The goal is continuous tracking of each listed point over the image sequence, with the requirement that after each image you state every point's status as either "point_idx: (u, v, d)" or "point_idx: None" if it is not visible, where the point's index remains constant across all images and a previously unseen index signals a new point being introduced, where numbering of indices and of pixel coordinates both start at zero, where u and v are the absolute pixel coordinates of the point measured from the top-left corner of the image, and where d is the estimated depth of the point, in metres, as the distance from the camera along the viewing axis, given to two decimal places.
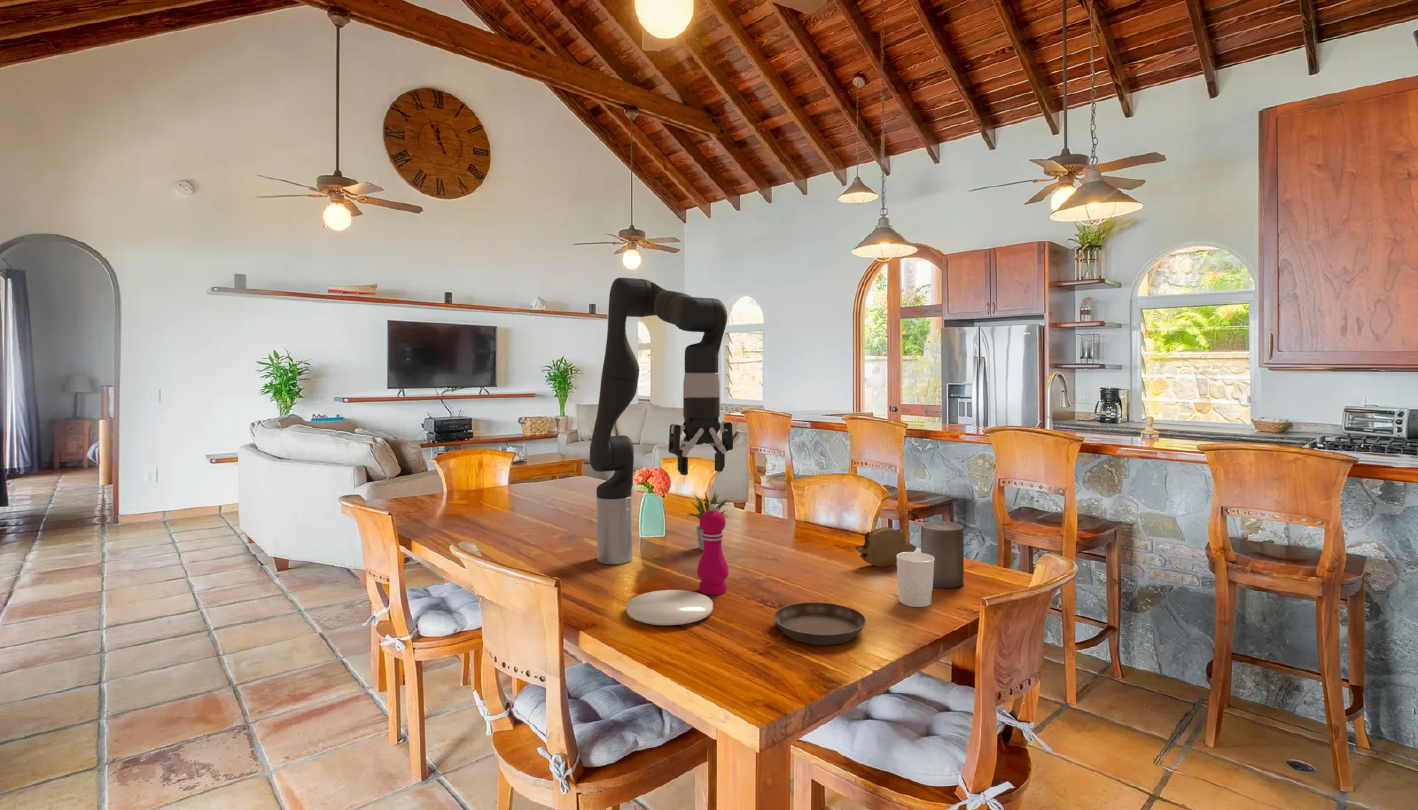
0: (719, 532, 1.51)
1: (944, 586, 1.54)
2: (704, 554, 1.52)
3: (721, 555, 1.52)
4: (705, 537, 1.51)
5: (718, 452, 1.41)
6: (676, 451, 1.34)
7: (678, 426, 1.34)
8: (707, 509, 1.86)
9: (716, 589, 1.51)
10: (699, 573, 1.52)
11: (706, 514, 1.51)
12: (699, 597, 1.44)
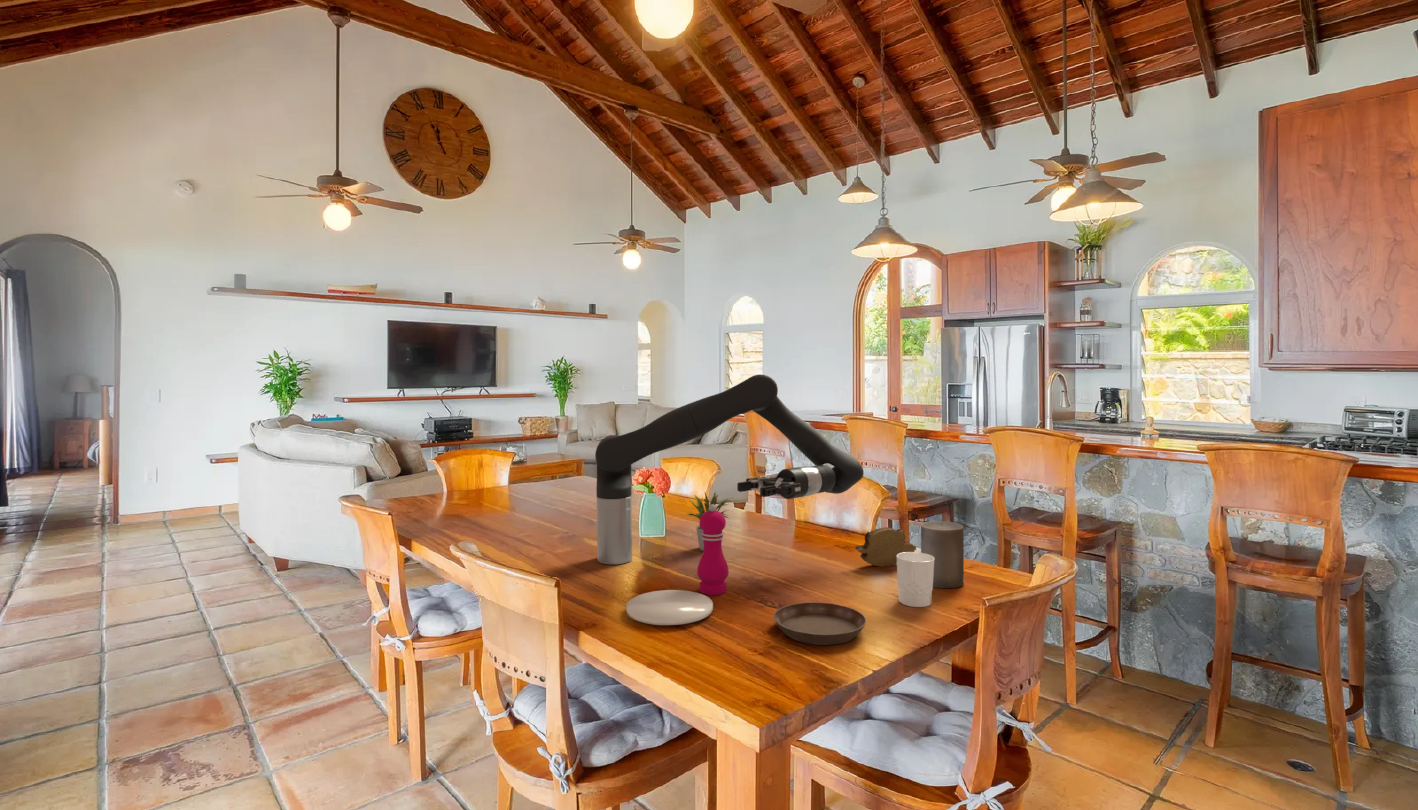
0: (719, 532, 1.51)
1: (944, 586, 1.54)
2: (704, 554, 1.52)
3: (721, 555, 1.52)
4: (705, 537, 1.51)
5: (751, 486, 1.64)
6: (784, 496, 1.56)
7: None
8: (707, 509, 1.86)
9: (716, 589, 1.51)
10: (699, 573, 1.52)
11: (706, 514, 1.51)
12: (699, 597, 1.44)
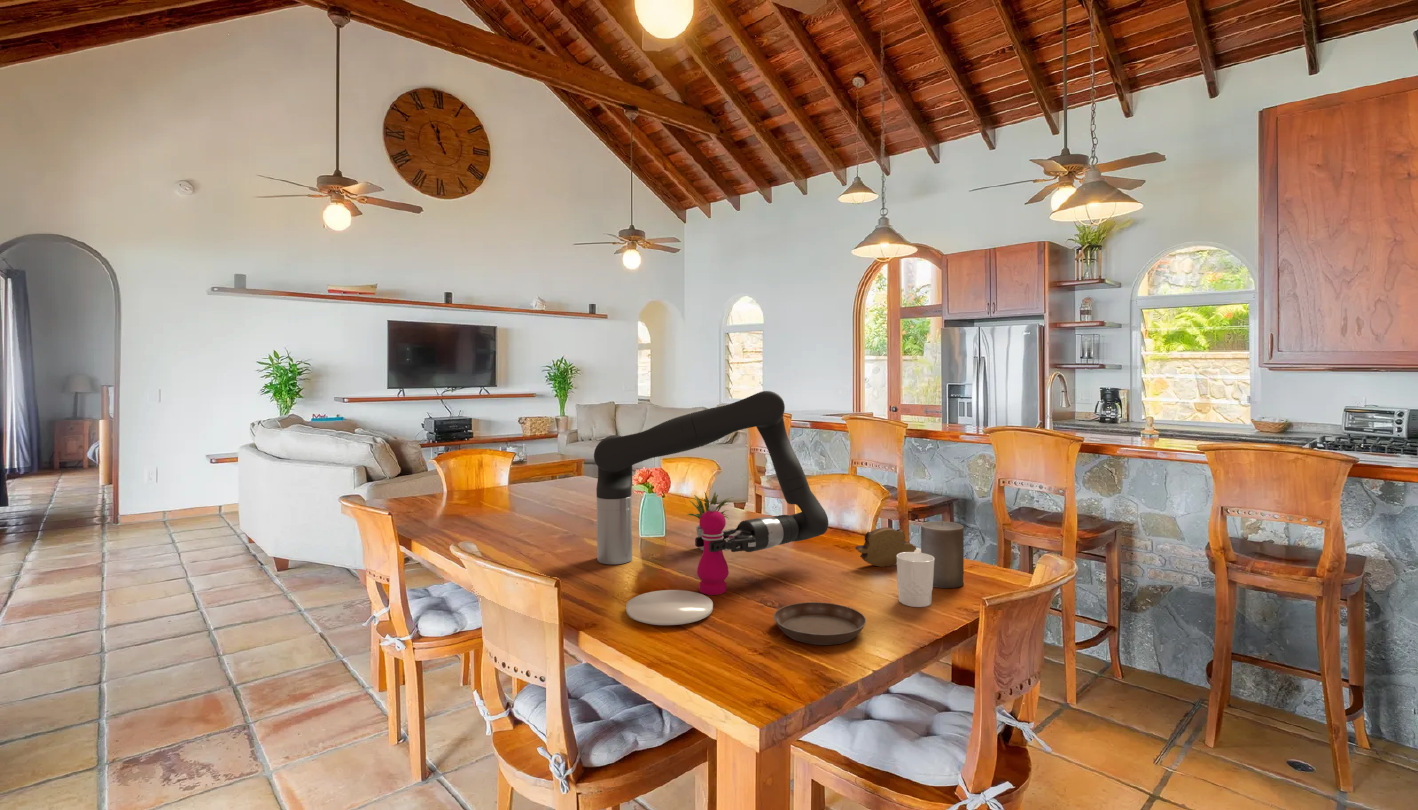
0: (719, 532, 1.51)
1: (944, 586, 1.54)
2: (704, 554, 1.52)
3: (721, 555, 1.52)
4: (705, 537, 1.51)
5: None
6: (734, 551, 1.50)
7: None
8: (707, 509, 1.86)
9: (716, 589, 1.51)
10: (699, 573, 1.52)
11: (706, 514, 1.51)
12: (699, 597, 1.44)
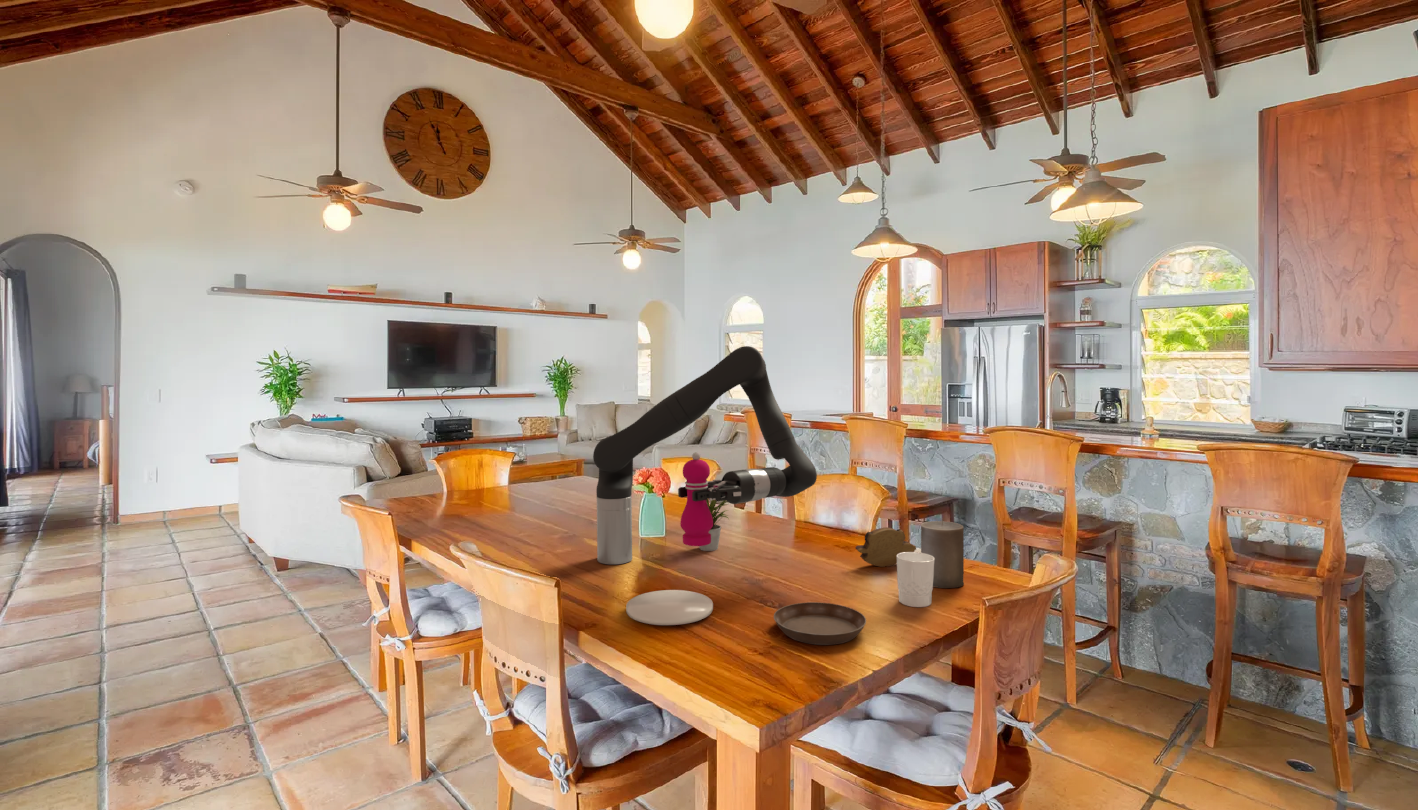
0: (703, 481, 1.45)
1: (944, 586, 1.54)
2: (687, 504, 1.46)
3: (705, 505, 1.46)
4: (688, 486, 1.45)
5: None
6: (718, 501, 1.44)
7: None
8: None
9: (700, 540, 1.44)
10: (682, 524, 1.45)
11: (689, 462, 1.45)
12: (699, 597, 1.44)
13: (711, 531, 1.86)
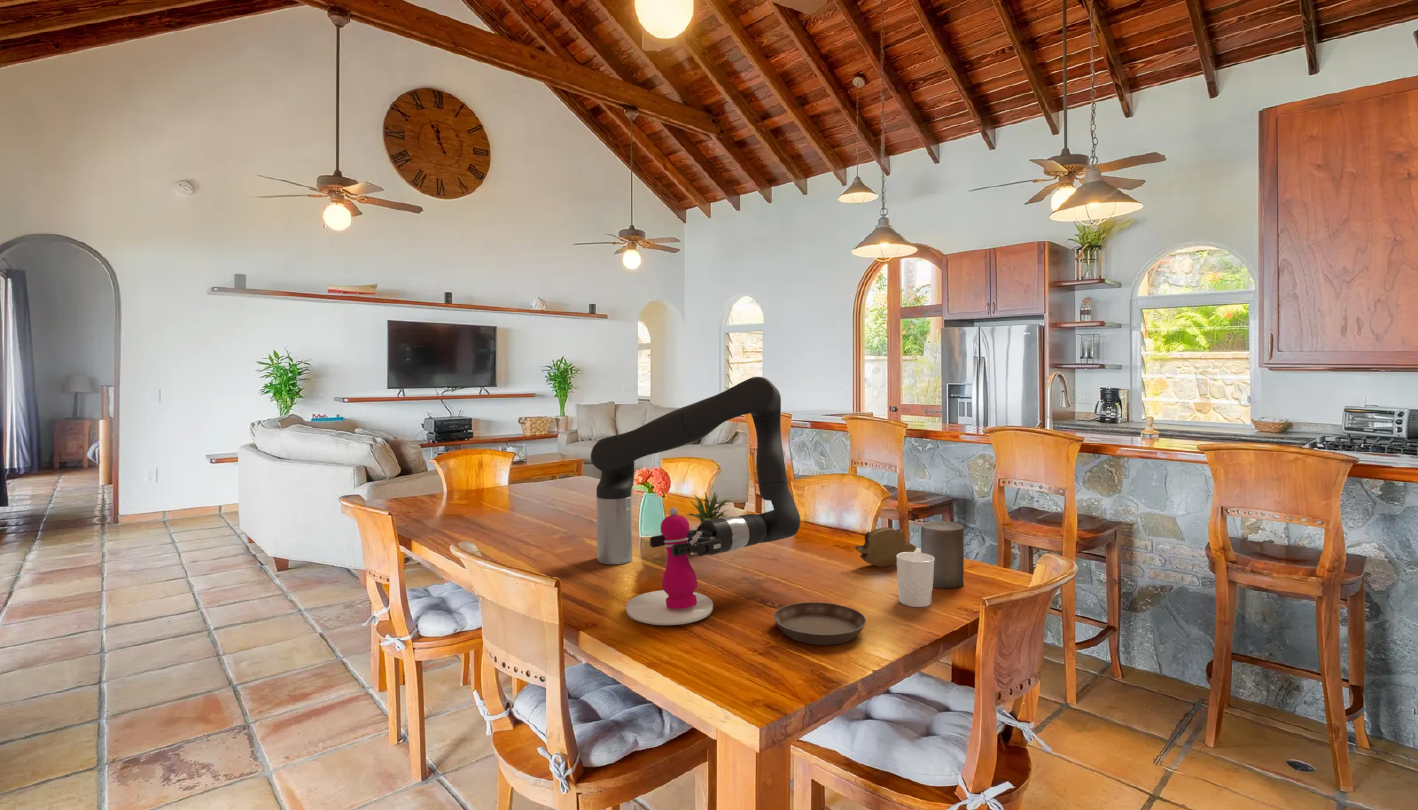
0: (682, 537, 1.37)
1: (944, 586, 1.54)
2: (668, 563, 1.37)
3: (687, 563, 1.37)
4: (667, 544, 1.37)
5: None
6: (700, 555, 1.36)
7: None
8: (707, 509, 1.86)
9: (684, 601, 1.34)
10: (664, 585, 1.36)
11: (667, 518, 1.38)
12: (699, 597, 1.44)
13: None
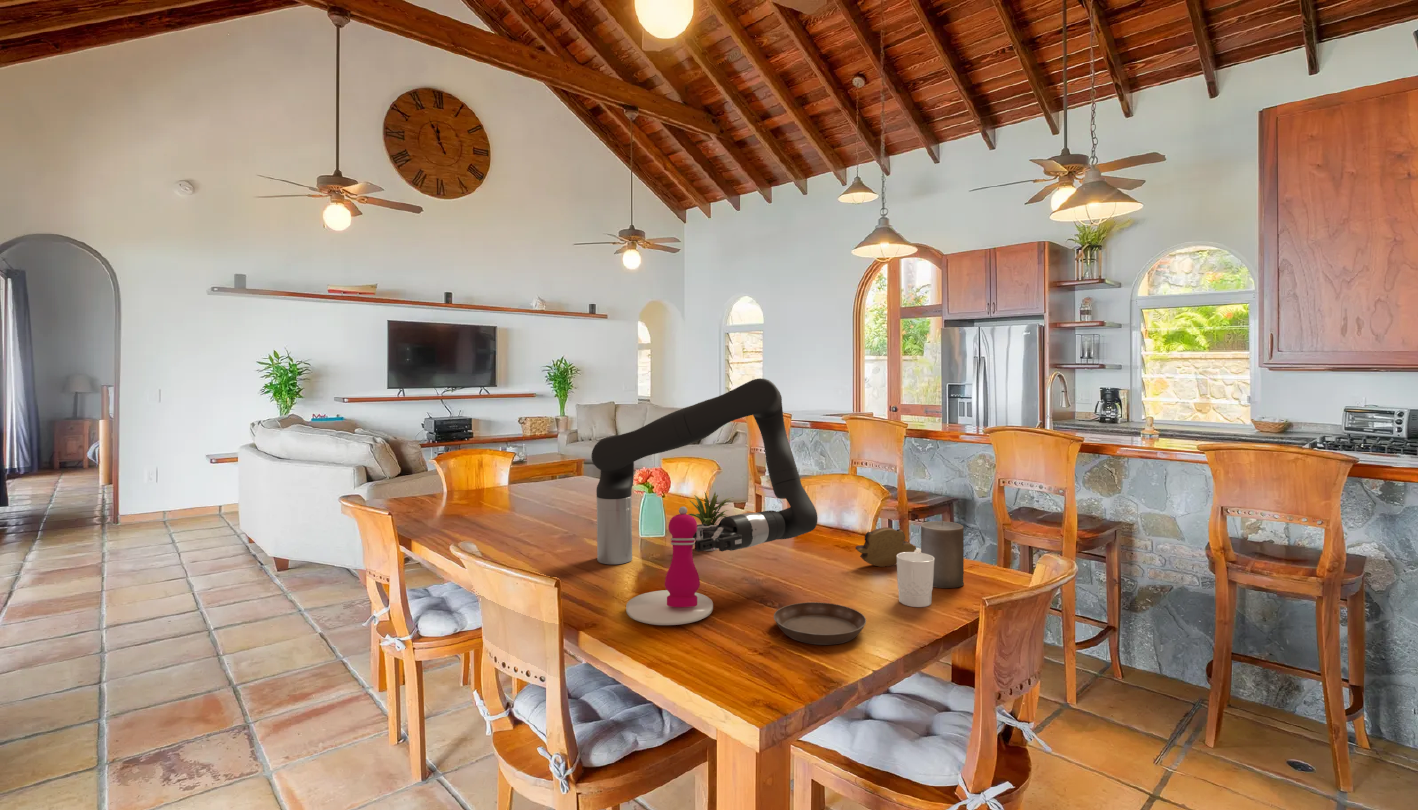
0: (690, 536, 1.38)
1: (944, 586, 1.54)
2: (673, 561, 1.37)
3: (692, 563, 1.37)
4: (674, 541, 1.37)
5: None
6: (722, 550, 1.39)
7: None
8: (707, 509, 1.86)
9: (685, 600, 1.34)
10: (667, 583, 1.36)
11: (676, 516, 1.39)
12: (699, 597, 1.44)
13: None
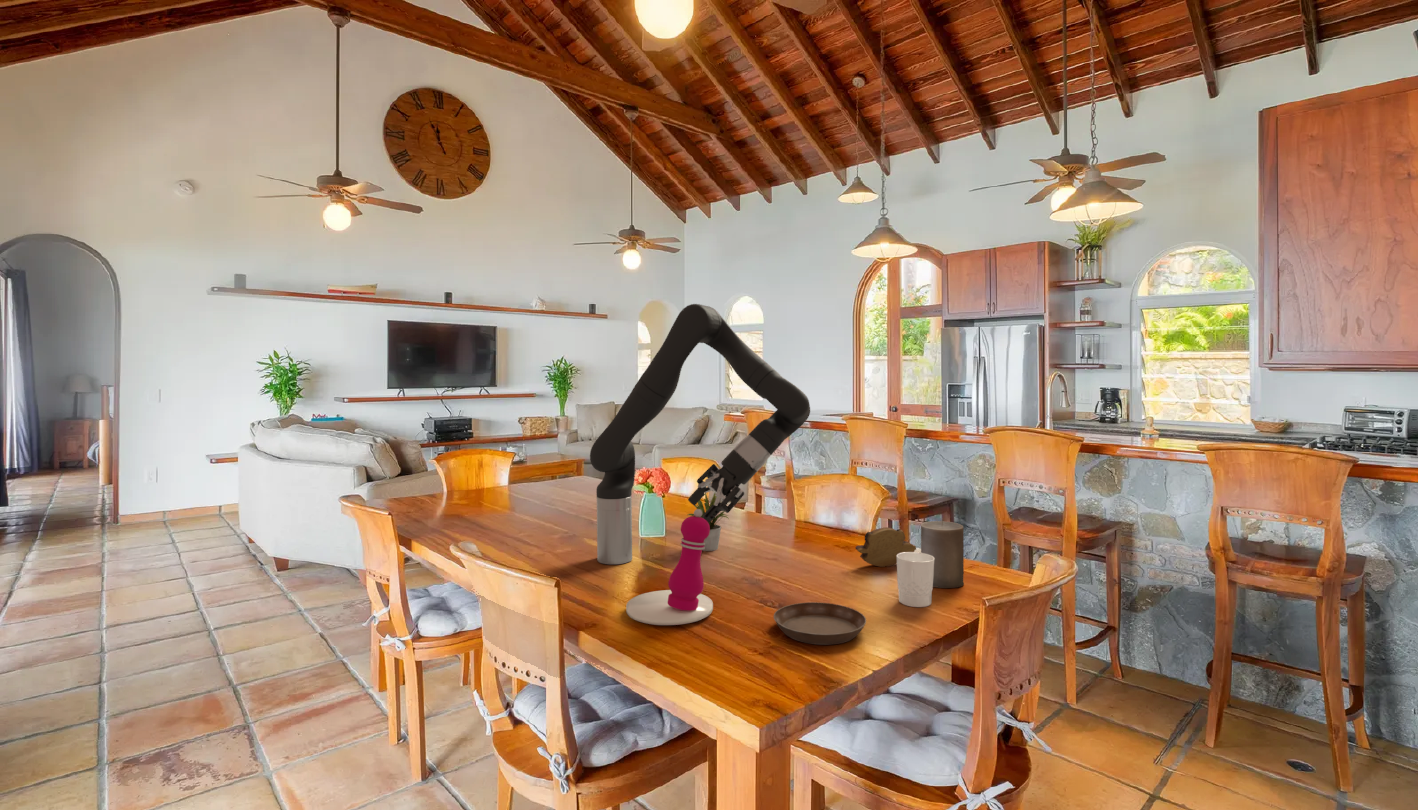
0: (700, 541, 1.36)
1: (944, 586, 1.54)
2: (680, 563, 1.36)
3: (698, 567, 1.36)
4: (684, 543, 1.36)
5: (703, 490, 1.57)
6: None
7: None
8: (707, 509, 1.86)
9: (686, 604, 1.34)
10: (670, 583, 1.35)
11: (690, 518, 1.36)
12: (699, 597, 1.44)
13: (711, 531, 1.86)
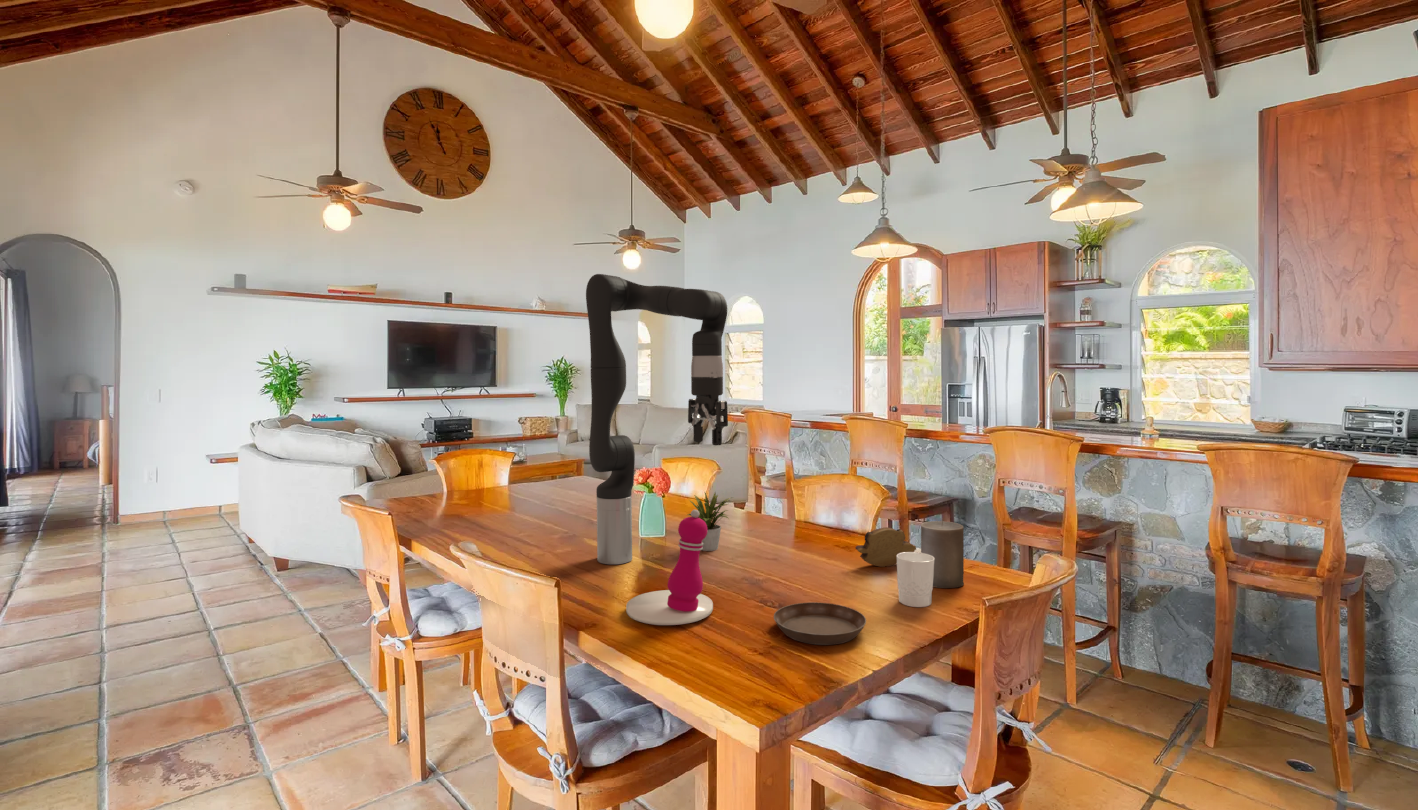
0: (698, 542, 1.35)
1: (944, 586, 1.54)
2: (678, 564, 1.36)
3: (697, 568, 1.36)
4: (682, 545, 1.35)
5: (698, 425, 1.63)
6: None
7: None
8: (707, 509, 1.86)
9: (685, 605, 1.34)
10: (669, 584, 1.35)
11: (687, 519, 1.36)
12: (699, 597, 1.44)
13: (711, 531, 1.86)
